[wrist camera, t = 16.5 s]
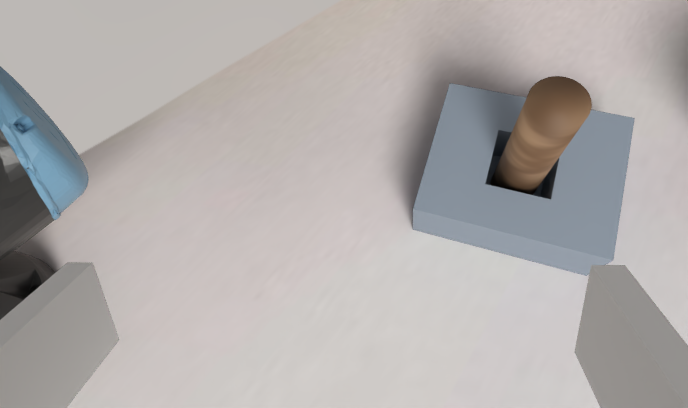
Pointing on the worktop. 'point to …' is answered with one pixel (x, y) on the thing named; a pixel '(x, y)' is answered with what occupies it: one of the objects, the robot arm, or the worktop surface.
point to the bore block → (515, 207)
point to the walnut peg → (542, 133)
